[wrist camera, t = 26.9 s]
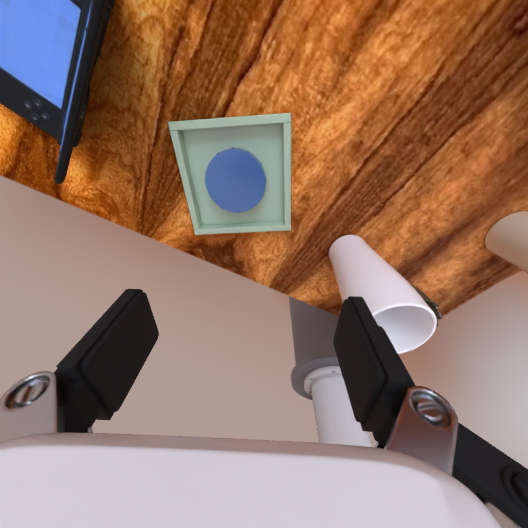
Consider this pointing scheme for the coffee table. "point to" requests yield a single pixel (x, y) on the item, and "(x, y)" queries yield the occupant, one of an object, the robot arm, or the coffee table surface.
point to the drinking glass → (382, 293)
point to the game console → (51, 64)
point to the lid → (235, 180)
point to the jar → (510, 239)
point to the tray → (245, 137)
